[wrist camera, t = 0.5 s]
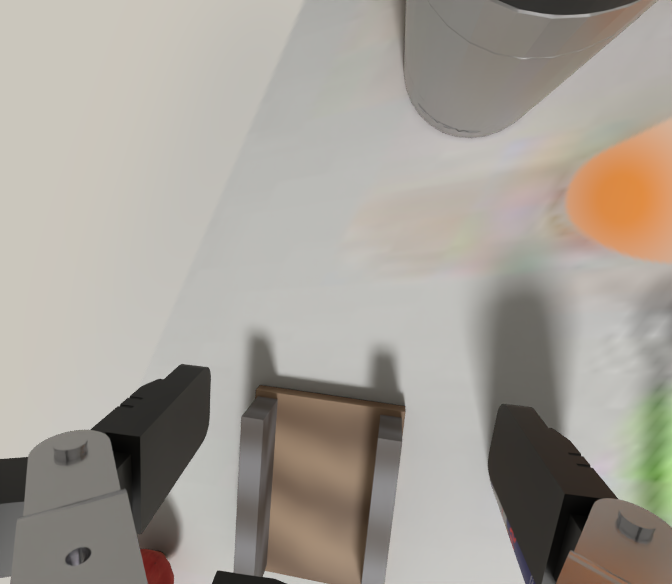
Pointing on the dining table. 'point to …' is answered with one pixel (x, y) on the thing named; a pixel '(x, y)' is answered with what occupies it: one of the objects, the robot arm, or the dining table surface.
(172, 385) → the robot arm
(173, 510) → the dining table surface
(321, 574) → the track block
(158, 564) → the onion
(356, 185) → the dining table surface
